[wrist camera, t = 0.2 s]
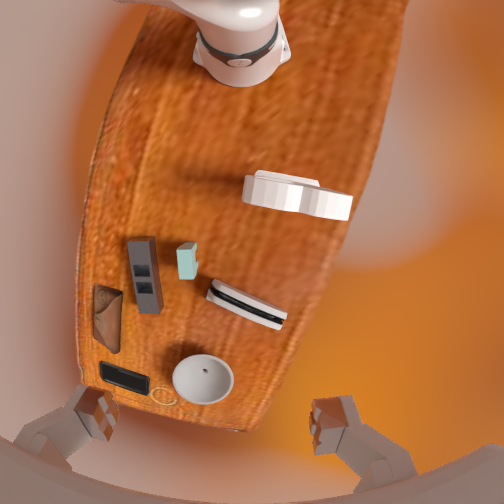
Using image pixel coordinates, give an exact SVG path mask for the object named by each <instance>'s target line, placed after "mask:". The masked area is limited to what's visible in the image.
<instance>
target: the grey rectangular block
mask: <svg viewBox="0 0 504 504" xmlns="http://www.w3.org/2000/svg"><path fill="white" fill-rule="evenodd" d="M127 246H128V253H129V260H130V266H131V272H132V278H133V284H134V289H135V295H136V300H137V305H138V310H139V313H147V314H160V312H161V310H162V309H163V307H164V303H163V297H162V291H161V284H160V277H159V270H158V262H157V254H156V246H155V237H133V238H132V239H130V240H129V241H128V242H127Z"/></svg>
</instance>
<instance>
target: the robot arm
mask: <svg viewBox="0 0 504 504" xmlns="http://www.w3.org/2000/svg"><path fill="white" fill-rule="evenodd" d="M114 1H116V2H120V3H144V4H152V5H157V6H161V7H165V8H168V9H171V10H174V11H177V12H179V13H181V14H184V15H186V16H188V17H190V18H191V19H193V20H194V21H195V22H196V23H197V25H198V27H199V31H198V32H197V34H196V37H197V42H196V46H195V49H194V53H193V61H194V62H195V63H196V64H198V65H200V66H202V67H204V68H206V69H207V70H208V72H209V73H210V74H211V75H212V76H213V77H214V78H215V79H216V80H218V81H219V82H221V83H223V84H225V85H229V86H233V87H248V86H253V85H256V84H259V83H261V82H263V81H264V80H266V79H267V78H268V77H270V76H271V75H272V73H273V72H274V71H275V70H276V68H277V67H278V66H279V65H281V64H282V63H284V62H286V61H288V60H289V59H290V57H291V52H290V49H289V45H288V42H287V39H286V35H285V32H284V29H283V26H282V23H281V20H280V17H279V14H278V12H279V0H114ZM284 49H285V51H283V50H284ZM112 399H113V394H112V392H111V391H109V390H105V389H100V388H96V387H92V386H87V385H83V384H80V385H78V386H77V388H76V389H75V391H74V392H73V394H72V395H71V397H70V398H69V400H68V401H67V403H66V404H65V406H64V407H60V408H58V409H56V410H54V411H52V412H50V413H48V414H46V415H44V416H42V417H40V418H38V419H36V420H34V421H32V422H30V423H28V424H26V425H24V427H23V428H22V430H21V431H20V433H19V434H18V436H17V437H16V439H15V440H14V442H13V443H12V442H10V441H8V440H6V439H5V438H3V437H2V436H0V504H226V503H210V502H199V501H190V500H183V499H176V498H169V497H163V496H157V495H153V494H148V493H143V492H138V491H134V490H130V489H126V488H122V487H119V486H114V485H111V484H108V483H105V482H102V481H98V480H95V479H92V478H89V477H87V476H84V475H81V474H78V473H75V472H73V471H72V467H71V466H70V464H69V463H68V462H67V461H66V460H65V459H67V458H68V457H69V456H70V455H72V454H73V453H75V452H76V451H77V450H78V449H80V448H81V447H82V446H84V445H85V444H86V443H87V442H89V441H90V440H91V439H92V438H95V439H99V440H103V441H107V442H108V441H109V440H110V437H111V435H112V433H113V429H112V426H113V425H115V424H116V423H117V421H118V419H119V408H118V406H117V404H116V403H115V402H114V401H113V400H112ZM309 426H310V433H311V435H313V436H314V437H313V441H312V444H313V449H314V455H321V454H331V453H336V454H337V456H339V457H340V459H342V460H343V461H344V462H345V463H346V464H347V465H348V466H349V467H350V468H351V469H352V470H353V471H354V472H355V473H356V474H357V475H359V476H360V477H361V478H362V479H361V480H360V482H359V483H358V485H357V486H356V488H355V489H354V491H353V492H354V493H353V494H349V495H343V496H338V497H332V498H326V499H319V500H311V501H302V502H291V503H275V504H504V447H502V446H500V445H496V444H493V443H490V444H487V445H484V446H482V447H480V448H479V449H477V450H475V451H473V452H471V453H469V454H467V455H465V456H463V457H461V458H459V459H456V460H454V461H452V462H450V463H447V464H445V465H443V466H440V467H438V468H436V469H433V470H431V471H428V472H425V473H423V474H420V475H418V473H417V471H416V468H415V466H414V464H413V461H412V459H411V456H410V454H409V452H408V451H407V450H405V449H404V448H402V447H401V446H399V445H398V444H396V443H394V442H393V441H391V440H390V439H388V438H387V437H385V436H384V435H382V434H381V433H379V432H378V431H376V430H375V429H373V428H372V427H370V426H369V425H367V424H362V421H361V418H360V416H359V413H358V410H357V408H356V405H355V402H354V399H353V397H352V396H351V395H345V396H338V397H329V398H321V399H313V401H312V412H310V418H309Z"/></svg>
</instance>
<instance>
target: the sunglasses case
mask: <svg viewBox="0 0 504 504" xmlns="http://www.w3.org/2000/svg"><path fill="white" fill-rule="evenodd" d="M122 300H123V292H122V291H120V290H117V289H113V288H110V287H107V286H103V285H99V284H96V283H95V288H94V334H93V336H94V339H96V340H98V341H99V342H101V343H102V344H103V345H104V346H106V347H107V348H108V349H109V350H110V351H111V353H113V354H117V353H119V352H120V331H121V311H122Z"/></svg>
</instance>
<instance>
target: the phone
mask: <svg viewBox="0 0 504 504" xmlns="http://www.w3.org/2000/svg"><path fill="white" fill-rule="evenodd" d="M100 370H101V378H102V380H103V381H105V382H108V383H111V384H113V385H116V386H119V387H122V388H124V389H127V390H130V391H133V392H136V393H139V394H142V395H145V396H147V395H148V394H149V386H150V378H149V377H147V376H145V375H142V374H139V373H136V372H133V371H130V370H127V369H124V368H121V367H119V366H116V365H113V364H110V363H108V362H105V361H102V362H101V363H100Z"/></svg>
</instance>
